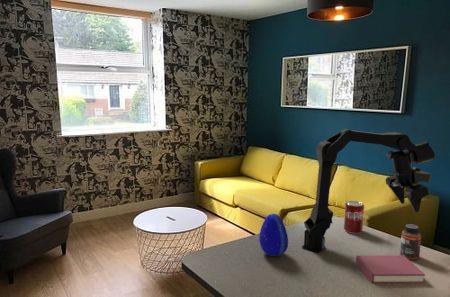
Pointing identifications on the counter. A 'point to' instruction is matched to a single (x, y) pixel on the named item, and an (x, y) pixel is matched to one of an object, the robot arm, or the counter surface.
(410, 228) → the supplement bottle
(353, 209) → the soda can
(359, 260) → the hardcover book
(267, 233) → the ornament
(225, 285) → the counter surface
